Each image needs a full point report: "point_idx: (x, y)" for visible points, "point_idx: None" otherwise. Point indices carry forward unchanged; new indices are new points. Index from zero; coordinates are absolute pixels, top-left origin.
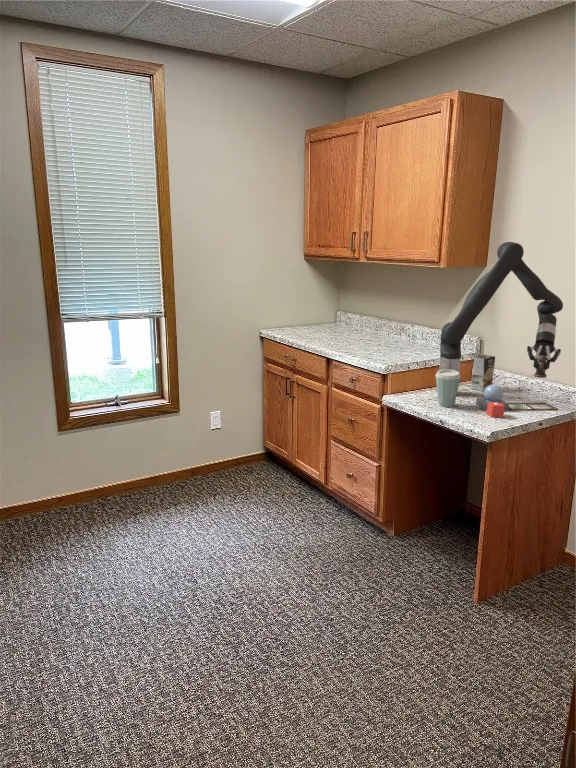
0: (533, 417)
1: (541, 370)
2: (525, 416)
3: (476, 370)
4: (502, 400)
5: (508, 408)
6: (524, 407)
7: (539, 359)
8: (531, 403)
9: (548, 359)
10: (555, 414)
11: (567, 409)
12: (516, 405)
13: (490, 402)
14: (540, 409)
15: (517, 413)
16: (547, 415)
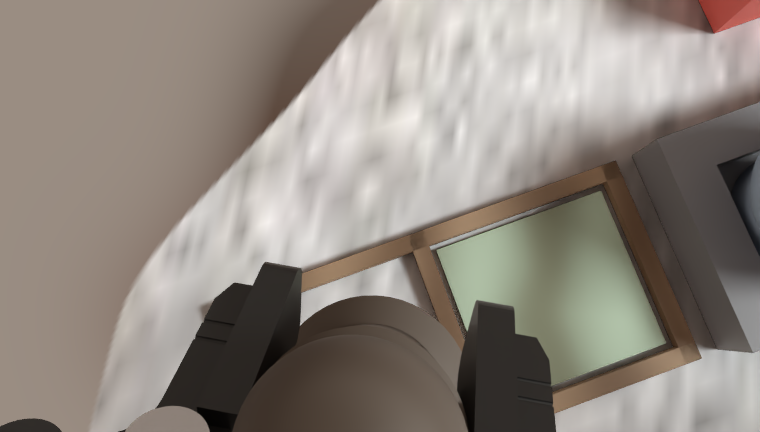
0: (447, 24)
1: (370, 324)
2: (505, 32)
3: None
4: (715, 244)
5: (631, 202)
6: (490, 289)
7: (440, 378)
8: None
9: (188, 421)
10: (260, 165)
11: (122, 362)
12: (555, 338)
13: None
14: (363, 252)
15: (561, 98)
16: (330, 115)
